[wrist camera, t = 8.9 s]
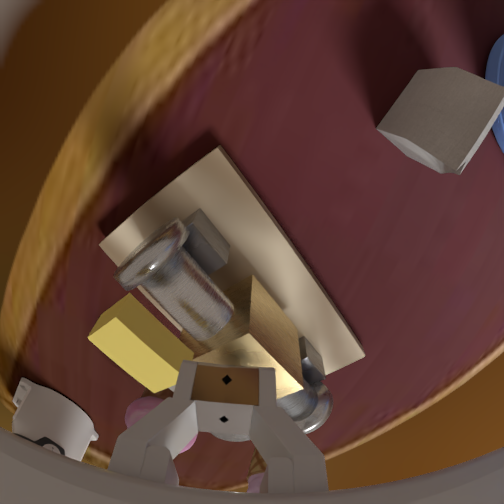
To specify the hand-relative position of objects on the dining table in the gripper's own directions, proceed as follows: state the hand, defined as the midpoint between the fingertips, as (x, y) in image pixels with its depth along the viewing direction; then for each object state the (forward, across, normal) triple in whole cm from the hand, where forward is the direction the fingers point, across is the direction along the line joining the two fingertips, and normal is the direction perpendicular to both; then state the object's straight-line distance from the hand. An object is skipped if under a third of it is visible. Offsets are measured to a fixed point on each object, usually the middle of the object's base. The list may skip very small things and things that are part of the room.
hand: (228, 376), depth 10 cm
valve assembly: (+18, 0, +10) cm, 20 cm away
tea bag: (+18, -13, -10) cm, 24 cm away
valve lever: (+6, +3, +7) cm, 9 cm away
